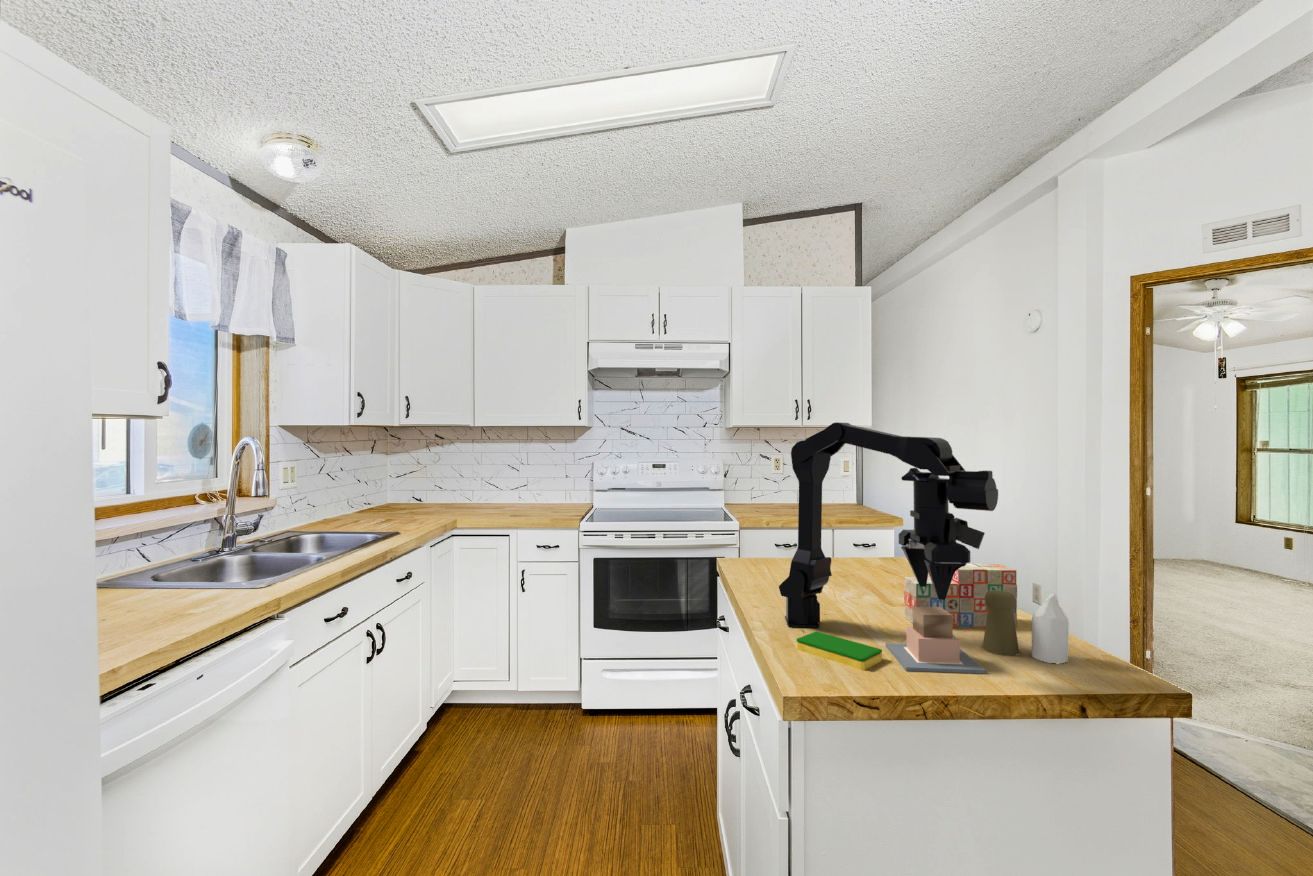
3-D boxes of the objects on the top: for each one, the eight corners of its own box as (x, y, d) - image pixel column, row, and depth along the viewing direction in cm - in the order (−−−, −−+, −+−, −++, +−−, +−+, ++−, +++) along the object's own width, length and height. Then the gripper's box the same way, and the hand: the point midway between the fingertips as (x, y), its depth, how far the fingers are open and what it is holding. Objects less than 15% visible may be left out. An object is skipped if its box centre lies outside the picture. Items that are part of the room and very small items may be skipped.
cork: (1015, 646, 110) (1014, 588, 110) (1023, 657, 104) (1023, 596, 105) (979, 642, 112) (978, 586, 112) (986, 653, 106) (985, 594, 106)
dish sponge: (863, 672, 99) (862, 658, 99) (795, 651, 109) (795, 638, 109) (883, 662, 104) (883, 649, 104) (816, 642, 114) (816, 630, 114)
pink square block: (918, 661, 101) (918, 638, 101) (906, 647, 108) (906, 626, 108) (959, 663, 100) (959, 640, 100) (944, 649, 107) (944, 627, 107)
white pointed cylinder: (1029, 586, 108) (1065, 590, 105) (1030, 650, 108) (1066, 655, 105) (1032, 594, 103) (1070, 597, 100) (1033, 661, 103) (1071, 666, 100)
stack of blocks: (915, 626, 123) (915, 569, 123) (904, 617, 129) (903, 563, 129) (1017, 627, 122) (1017, 569, 122) (1001, 618, 128) (1000, 563, 128)
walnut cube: (923, 637, 102) (923, 614, 102) (912, 628, 107) (912, 606, 107) (952, 637, 101) (952, 615, 101) (940, 628, 106) (940, 607, 106)
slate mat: (905, 670, 99) (905, 666, 99) (885, 646, 110) (885, 642, 110) (985, 673, 97) (985, 669, 97) (956, 648, 109) (956, 644, 109)
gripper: (1003, 513, 94) (1004, 608, 94) (956, 501, 113) (957, 581, 112) (932, 512, 95) (933, 606, 95) (897, 501, 114) (898, 580, 114)
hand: (931, 592), depth 104 cm, fingers open, 9 cm apart
